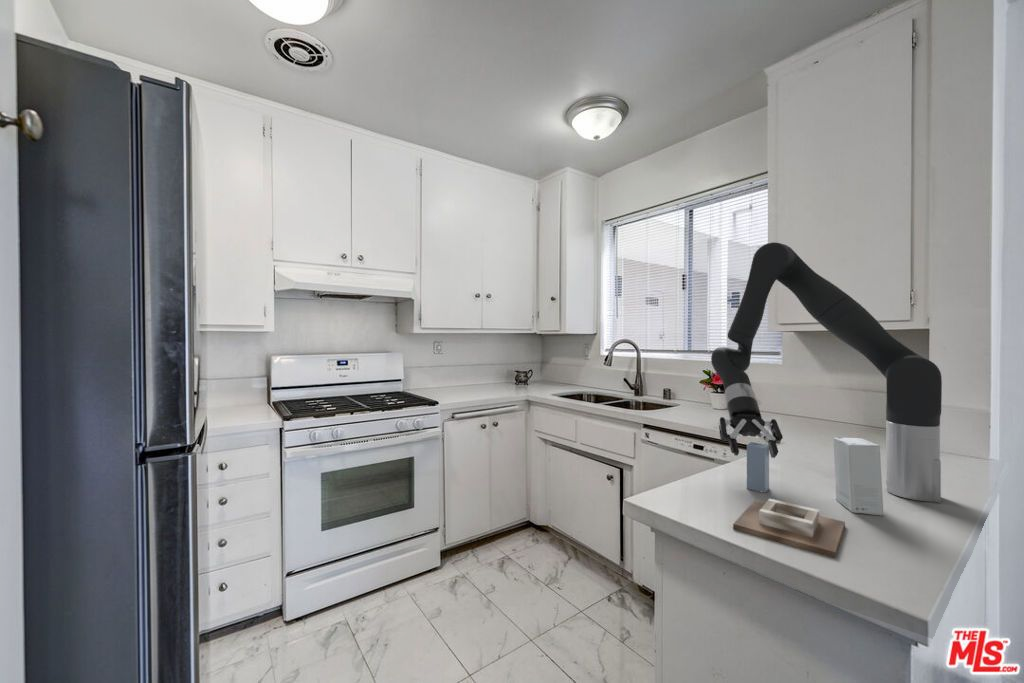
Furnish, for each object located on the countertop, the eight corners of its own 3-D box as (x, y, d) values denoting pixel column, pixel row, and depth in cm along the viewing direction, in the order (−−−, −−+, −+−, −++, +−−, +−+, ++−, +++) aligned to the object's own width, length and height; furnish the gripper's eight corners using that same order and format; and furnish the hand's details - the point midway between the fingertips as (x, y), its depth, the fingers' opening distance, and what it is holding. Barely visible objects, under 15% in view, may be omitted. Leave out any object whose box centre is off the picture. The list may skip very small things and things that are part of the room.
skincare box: (884, 516, 87) (884, 446, 87) (849, 513, 89) (849, 444, 89) (863, 501, 95) (863, 437, 95) (832, 498, 97) (832, 435, 97)
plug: (769, 488, 104) (768, 444, 104) (765, 493, 101) (765, 447, 101) (751, 484, 106) (751, 442, 106) (746, 488, 103) (746, 445, 103)
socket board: (844, 526, 82) (844, 509, 82) (835, 557, 71) (835, 537, 71) (754, 505, 93) (754, 489, 93) (733, 528, 82) (733, 511, 82)
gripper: (716, 394, 115) (727, 445, 104) (773, 395, 112) (791, 449, 101) (712, 410, 120) (722, 460, 109) (766, 412, 117) (782, 464, 106)
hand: (755, 455), depth 105 cm, fingers open, 8 cm apart
